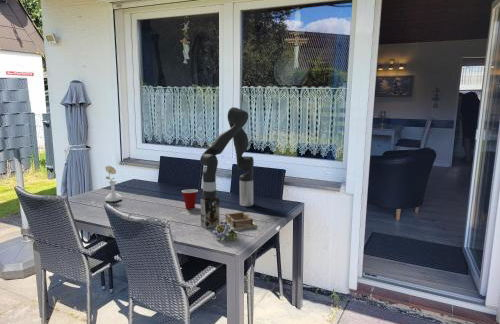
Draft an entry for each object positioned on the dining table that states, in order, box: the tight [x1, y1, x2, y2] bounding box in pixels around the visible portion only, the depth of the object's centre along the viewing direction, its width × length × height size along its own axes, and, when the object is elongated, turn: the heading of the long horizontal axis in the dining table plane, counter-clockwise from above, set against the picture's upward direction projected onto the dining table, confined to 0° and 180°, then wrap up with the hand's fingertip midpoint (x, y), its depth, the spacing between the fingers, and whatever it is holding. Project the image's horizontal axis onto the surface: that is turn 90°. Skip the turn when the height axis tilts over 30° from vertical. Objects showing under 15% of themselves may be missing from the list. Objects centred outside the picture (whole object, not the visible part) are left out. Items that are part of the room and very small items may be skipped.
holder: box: [221, 211, 258, 231], centre depth 213 cm, size 16×16×4 cm
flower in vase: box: [104, 165, 123, 203], centre depth 260 cm, size 13×11×25 cm
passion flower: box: [212, 220, 240, 243], centre depth 191 cm, size 11×11×12 cm
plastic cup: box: [181, 188, 199, 210], centre depth 243 cm, size 11×11×12 cm
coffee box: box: [200, 196, 220, 229], centre depth 210 cm, size 9×6×16 cm
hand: (210, 216), depth 210 cm, fingers closed on coffee box, 7 cm apart
